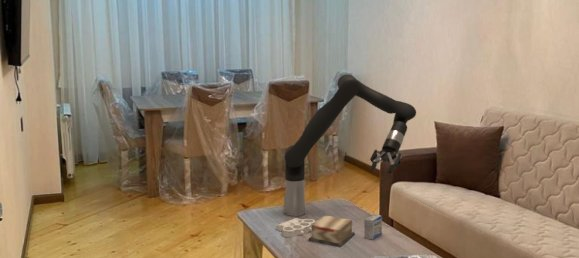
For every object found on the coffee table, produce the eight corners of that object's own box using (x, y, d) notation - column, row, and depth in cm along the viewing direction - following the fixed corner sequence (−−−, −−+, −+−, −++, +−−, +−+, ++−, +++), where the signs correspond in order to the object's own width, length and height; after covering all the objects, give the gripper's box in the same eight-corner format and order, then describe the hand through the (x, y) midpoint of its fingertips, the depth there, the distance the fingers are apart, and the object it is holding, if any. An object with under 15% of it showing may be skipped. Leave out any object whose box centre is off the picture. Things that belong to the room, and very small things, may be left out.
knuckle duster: (298, 221, 274) (322, 229, 264) (270, 232, 261) (294, 241, 251) (298, 214, 273) (322, 222, 263) (270, 225, 261) (294, 233, 251)
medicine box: (373, 240, 250) (373, 220, 248) (364, 237, 253) (364, 218, 251) (381, 234, 256) (382, 215, 254) (372, 232, 259) (373, 213, 257)
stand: (308, 240, 250) (308, 225, 249) (323, 229, 263) (323, 214, 262) (340, 247, 243) (340, 231, 242) (354, 234, 256) (354, 219, 254)
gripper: (377, 135, 272) (363, 165, 266) (404, 139, 263) (391, 170, 257) (382, 144, 277) (370, 173, 271) (409, 148, 268) (397, 178, 262)
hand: (380, 171), depth 264 cm, fingers open, 8 cm apart
